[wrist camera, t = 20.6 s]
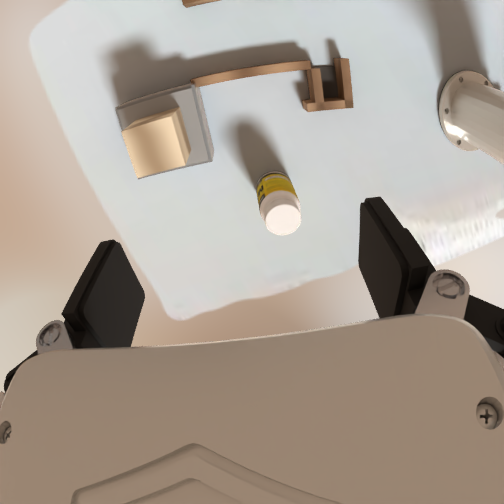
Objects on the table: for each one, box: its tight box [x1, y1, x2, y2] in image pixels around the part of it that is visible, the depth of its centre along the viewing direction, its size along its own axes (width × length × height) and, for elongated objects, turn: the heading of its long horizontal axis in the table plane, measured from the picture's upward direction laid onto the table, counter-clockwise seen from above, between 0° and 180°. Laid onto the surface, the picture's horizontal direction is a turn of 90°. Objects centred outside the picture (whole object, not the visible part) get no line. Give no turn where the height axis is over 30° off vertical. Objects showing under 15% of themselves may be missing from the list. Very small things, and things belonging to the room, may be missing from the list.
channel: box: [182, 0, 353, 112], centre depth 28 cm, size 18×16×2 cm
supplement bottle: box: [256, 171, 301, 235], centre depth 37 cm, size 5×5×8 cm
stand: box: [115, 83, 214, 179], centre depth 32 cm, size 9×9×4 cm
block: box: [122, 107, 191, 178], centre depth 28 cm, size 5×5×5 cm
